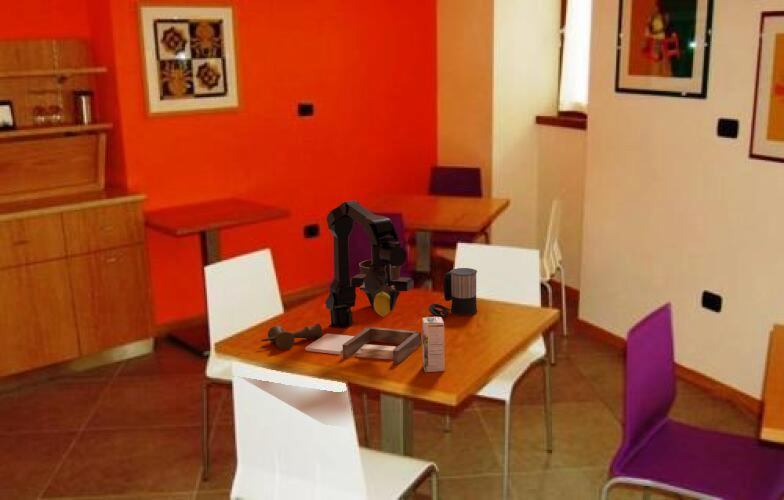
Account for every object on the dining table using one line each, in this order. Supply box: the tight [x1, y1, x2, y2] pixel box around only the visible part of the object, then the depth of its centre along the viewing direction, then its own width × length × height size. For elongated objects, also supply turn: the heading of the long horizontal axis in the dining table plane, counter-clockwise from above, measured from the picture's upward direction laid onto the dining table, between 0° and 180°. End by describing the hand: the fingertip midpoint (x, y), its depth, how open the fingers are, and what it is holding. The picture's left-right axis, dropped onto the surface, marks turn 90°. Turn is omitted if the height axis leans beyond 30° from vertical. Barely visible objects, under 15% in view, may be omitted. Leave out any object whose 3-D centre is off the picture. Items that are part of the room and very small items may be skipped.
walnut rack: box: [342, 326, 423, 365], centre depth 245 cm, size 18×18×4 cm
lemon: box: [373, 291, 392, 318], centre depth 245 cm, size 6×6×8 cm
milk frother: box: [428, 267, 478, 318], centre depth 278 cm, size 14×16×15 cm
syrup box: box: [421, 316, 446, 373], centre depth 228 cm, size 6×6×14 cm
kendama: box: [260, 323, 323, 351], centre depth 256 cm, size 6×10×20 cm
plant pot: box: [358, 259, 401, 305], centre depth 290 cm, size 15×15×16 cm
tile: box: [304, 333, 355, 355], centre depth 253 cm, size 12×14×1 cm
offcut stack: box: [354, 343, 397, 360], centre depth 242 cm, size 12×4×3 cm, turn 72°
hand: (382, 309), depth 246 cm, fingers closed on lemon, 5 cm apart
